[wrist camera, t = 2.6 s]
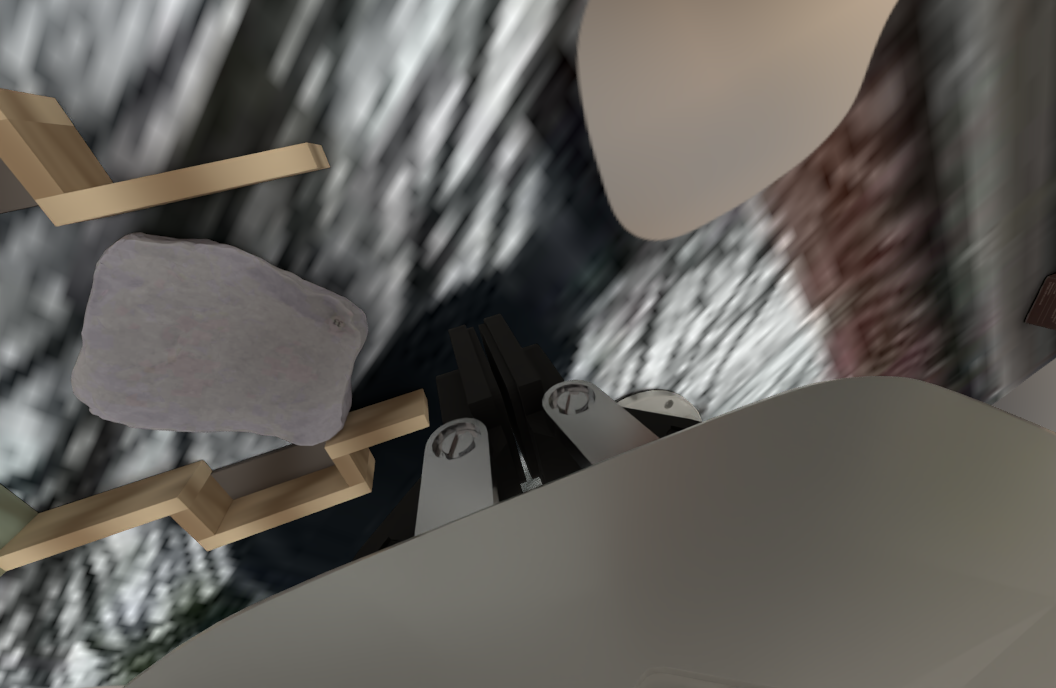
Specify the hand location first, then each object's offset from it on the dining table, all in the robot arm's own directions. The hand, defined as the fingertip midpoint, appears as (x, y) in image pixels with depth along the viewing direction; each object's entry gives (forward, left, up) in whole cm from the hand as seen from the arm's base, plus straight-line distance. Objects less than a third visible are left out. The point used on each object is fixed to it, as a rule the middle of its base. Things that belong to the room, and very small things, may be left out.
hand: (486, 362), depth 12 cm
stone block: (+11, +1, -13) cm, 17 cm away
